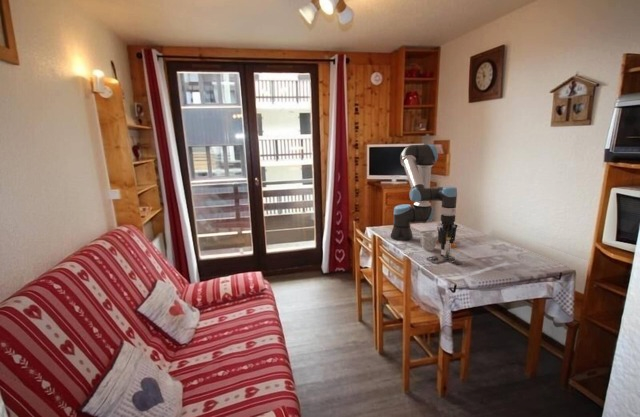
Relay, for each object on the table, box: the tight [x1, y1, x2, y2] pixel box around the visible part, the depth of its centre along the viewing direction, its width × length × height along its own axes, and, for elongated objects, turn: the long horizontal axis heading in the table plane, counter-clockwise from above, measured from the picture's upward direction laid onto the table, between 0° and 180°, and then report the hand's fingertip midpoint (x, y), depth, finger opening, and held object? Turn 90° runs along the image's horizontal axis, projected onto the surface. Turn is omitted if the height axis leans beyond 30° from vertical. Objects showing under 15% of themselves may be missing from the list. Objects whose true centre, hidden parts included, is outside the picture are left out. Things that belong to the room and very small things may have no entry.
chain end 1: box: [426, 253, 456, 265], centre depth 182 cm, size 15×7×2 cm, turn 115°
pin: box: [443, 236, 451, 258], centre depth 183 cm, size 4×4×13 cm
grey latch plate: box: [445, 258, 467, 267], centre depth 181 cm, size 15×7×2 cm, turn 25°
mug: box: [420, 233, 437, 252], centre depth 201 cm, size 11×8×10 cm
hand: (445, 254), depth 184 cm, fingers closed on pin, 3 cm apart
